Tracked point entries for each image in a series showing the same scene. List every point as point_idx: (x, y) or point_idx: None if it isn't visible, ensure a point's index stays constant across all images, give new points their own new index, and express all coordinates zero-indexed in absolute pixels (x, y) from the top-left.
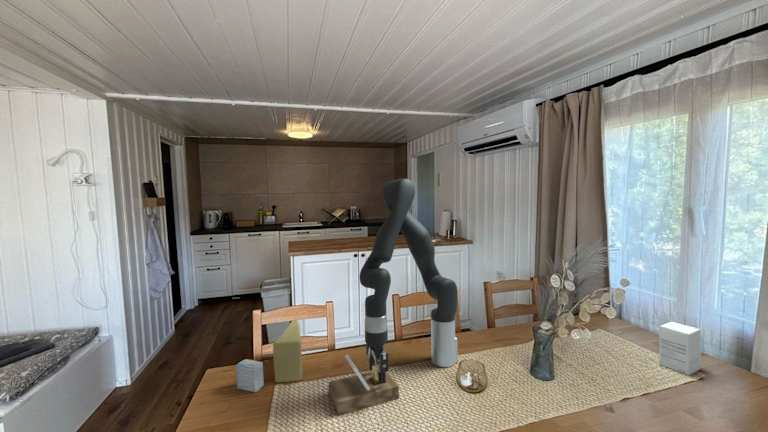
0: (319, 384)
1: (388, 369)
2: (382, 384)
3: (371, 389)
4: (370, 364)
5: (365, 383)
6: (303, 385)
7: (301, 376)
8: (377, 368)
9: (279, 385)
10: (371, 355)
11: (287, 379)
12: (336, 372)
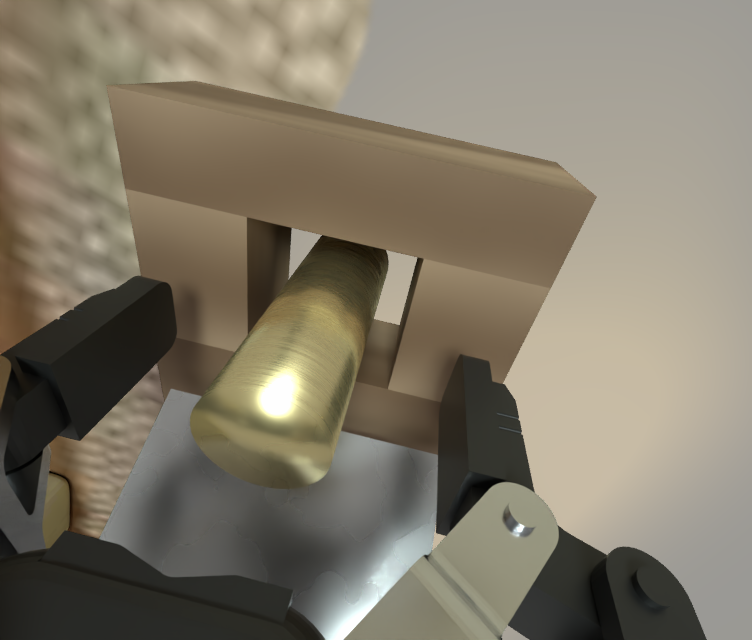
0: (122, 446)
1: (693, 620)
2: (420, 316)
3: (423, 420)
4: (126, 385)
5: (431, 544)
6: (113, 485)
7: (51, 493)
8: (330, 464)
9: (91, 527)
10: (32, 534)
11: (62, 520)
12: (5, 338)
